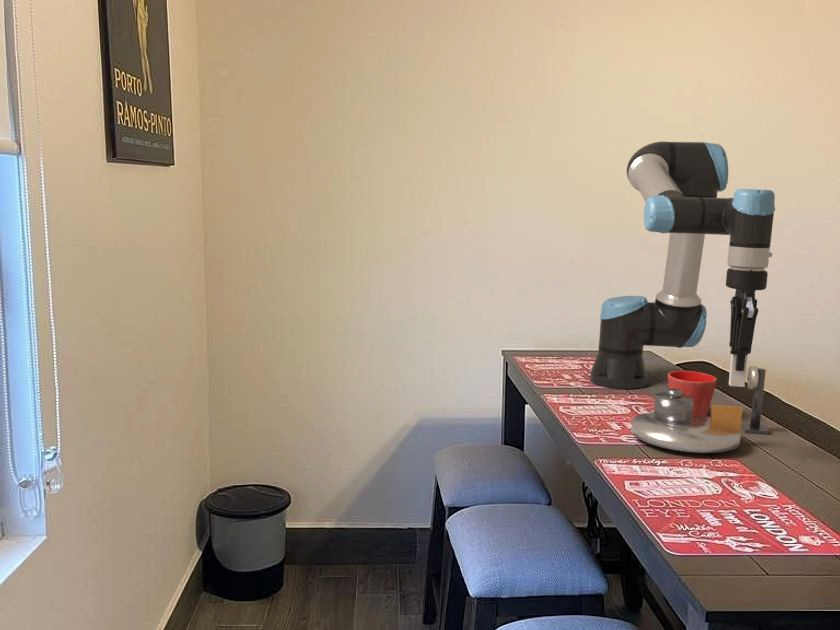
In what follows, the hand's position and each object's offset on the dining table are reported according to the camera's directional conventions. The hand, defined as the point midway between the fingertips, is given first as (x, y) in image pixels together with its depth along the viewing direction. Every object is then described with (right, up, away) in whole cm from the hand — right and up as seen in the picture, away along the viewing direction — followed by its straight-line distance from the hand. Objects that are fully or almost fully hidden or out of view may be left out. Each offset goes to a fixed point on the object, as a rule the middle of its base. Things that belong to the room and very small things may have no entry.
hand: (736, 385), depth 167 cm
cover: (-9, -9, +14) cm, 19 cm away
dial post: (+11, -12, +19) cm, 25 cm away
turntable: (-7, -11, +10) cm, 17 cm away
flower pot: (0, -10, +29) cm, 30 cm away
